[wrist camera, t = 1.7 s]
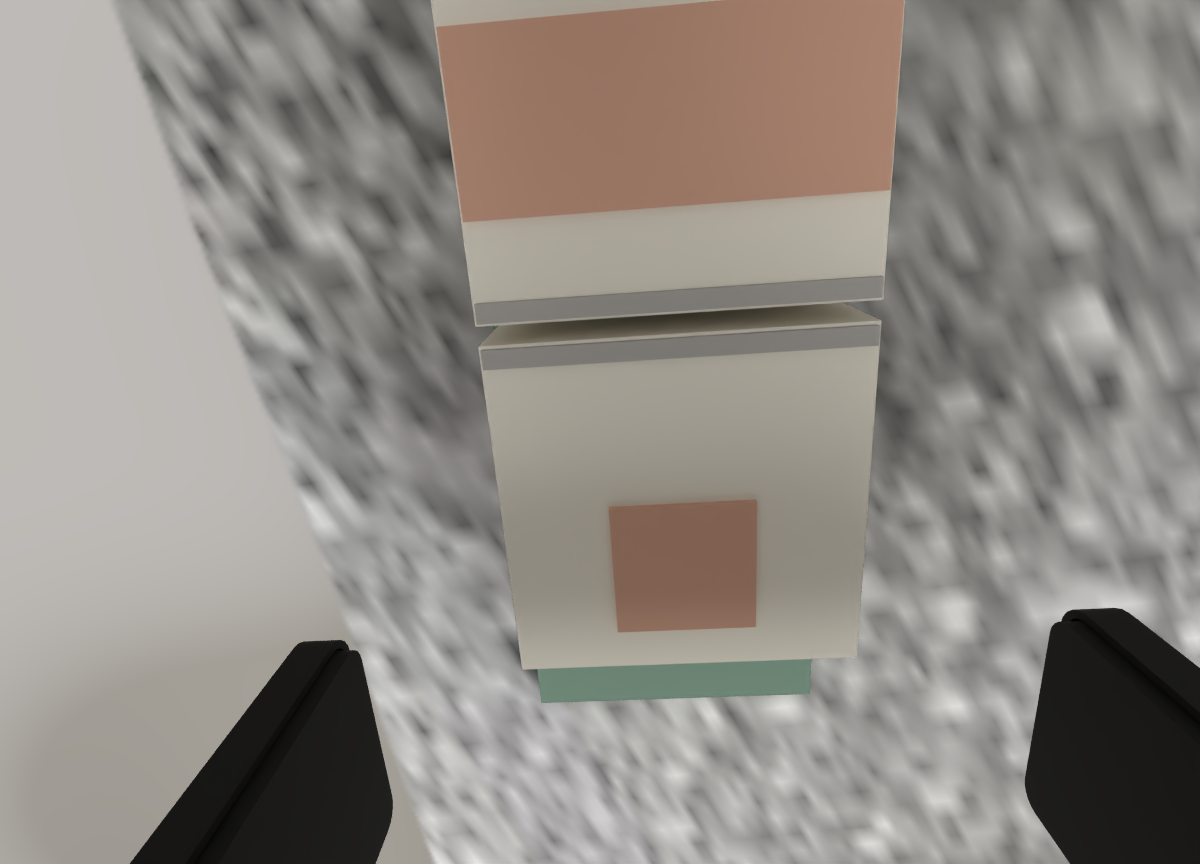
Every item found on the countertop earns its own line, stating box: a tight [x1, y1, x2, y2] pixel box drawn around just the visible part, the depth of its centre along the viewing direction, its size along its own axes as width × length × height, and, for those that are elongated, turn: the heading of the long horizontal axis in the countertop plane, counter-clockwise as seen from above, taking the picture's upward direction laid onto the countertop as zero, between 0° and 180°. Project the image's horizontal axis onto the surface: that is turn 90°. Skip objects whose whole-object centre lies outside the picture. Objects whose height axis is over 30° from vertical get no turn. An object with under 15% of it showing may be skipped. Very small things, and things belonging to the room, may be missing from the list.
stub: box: [478, 303, 882, 670], centre depth 13 cm, size 6×6×6 cm
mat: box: [493, 325, 811, 703], centre depth 16 cm, size 23×8×1 cm, turn 4°
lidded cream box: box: [431, 0, 905, 327], centre depth 11 cm, size 7×7×7 cm
